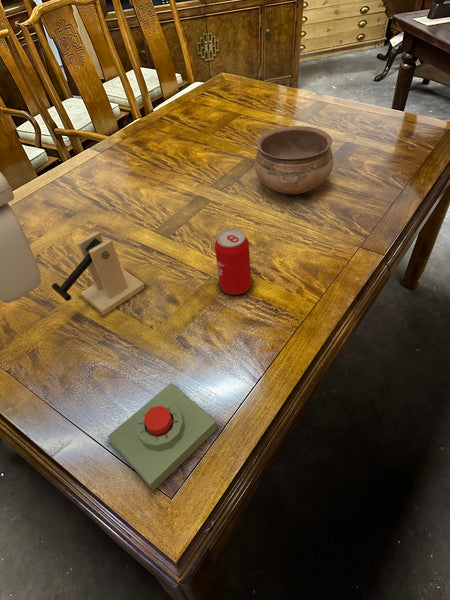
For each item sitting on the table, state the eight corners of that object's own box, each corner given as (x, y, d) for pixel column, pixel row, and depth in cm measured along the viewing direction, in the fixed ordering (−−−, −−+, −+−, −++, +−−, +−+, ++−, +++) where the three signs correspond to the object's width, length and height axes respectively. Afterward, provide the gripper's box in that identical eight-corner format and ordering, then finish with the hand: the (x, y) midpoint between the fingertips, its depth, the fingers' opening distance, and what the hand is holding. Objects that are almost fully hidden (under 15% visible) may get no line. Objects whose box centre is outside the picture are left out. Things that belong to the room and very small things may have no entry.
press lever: (70, 303, 75) (61, 297, 73) (57, 291, 78) (47, 285, 76) (113, 252, 77) (105, 245, 75) (98, 241, 79) (90, 234, 77)
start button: (157, 441, 57) (155, 434, 56) (141, 424, 59) (138, 418, 58) (177, 422, 58) (175, 416, 57) (161, 407, 60) (159, 401, 59)
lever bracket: (104, 315, 80) (82, 264, 71) (82, 296, 84) (58, 246, 75) (145, 287, 85) (129, 236, 76) (122, 271, 89) (104, 221, 80)
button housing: (153, 491, 56) (147, 478, 53) (111, 443, 61) (103, 430, 58) (217, 429, 61) (214, 415, 58) (173, 390, 67) (168, 375, 64)
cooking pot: (328, 217, 96) (334, 168, 88) (248, 213, 100) (245, 166, 92) (331, 164, 113) (336, 119, 105) (262, 163, 117) (261, 119, 109)
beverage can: (236, 271, 86) (231, 222, 77) (258, 285, 82) (255, 235, 74) (213, 286, 83) (206, 238, 75) (235, 301, 79) (230, 252, 71)
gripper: (-142, 147, 39) (-60, 262, 48) (-72, 225, 28) (17, 354, 37) (-72, 124, 42) (-7, 237, 51) (17, 186, 31) (78, 316, 40)
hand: (3, 287), depth 44 cm, fingers closed
